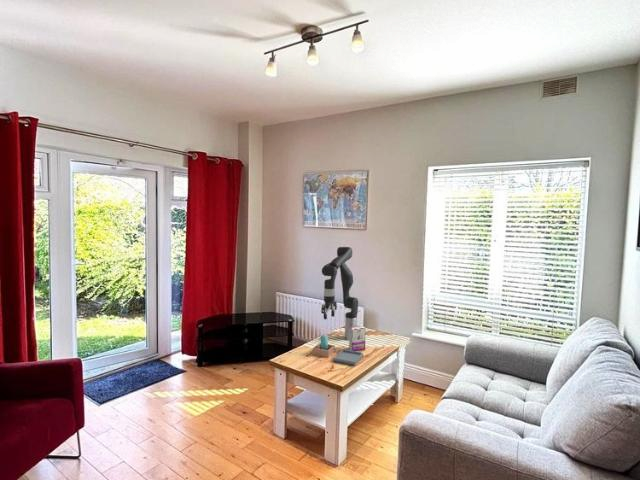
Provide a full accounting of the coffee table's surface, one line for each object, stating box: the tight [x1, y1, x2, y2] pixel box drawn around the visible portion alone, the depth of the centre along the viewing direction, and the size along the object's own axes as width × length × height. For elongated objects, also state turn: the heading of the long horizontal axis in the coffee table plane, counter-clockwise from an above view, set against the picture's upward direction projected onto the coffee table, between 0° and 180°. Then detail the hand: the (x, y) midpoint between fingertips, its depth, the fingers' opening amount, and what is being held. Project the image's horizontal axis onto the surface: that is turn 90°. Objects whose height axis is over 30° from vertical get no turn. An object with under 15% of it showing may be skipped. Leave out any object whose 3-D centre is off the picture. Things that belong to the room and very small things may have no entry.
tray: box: [332, 348, 364, 367], centre depth 231 cm, size 18×15×2 cm
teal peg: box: [320, 334, 329, 350], centre depth 241 cm, size 5×5×12 cm
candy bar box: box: [348, 325, 366, 352], centre depth 248 cm, size 11×5×16 cm, turn 112°
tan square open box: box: [312, 342, 336, 358], centre depth 241 cm, size 12×12×4 cm
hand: (329, 317), depth 236 cm, fingers open, 8 cm apart
